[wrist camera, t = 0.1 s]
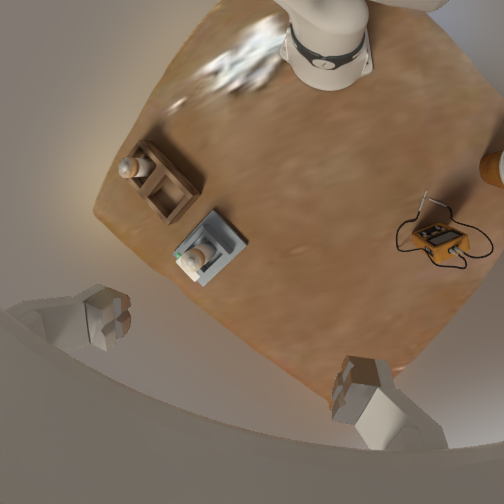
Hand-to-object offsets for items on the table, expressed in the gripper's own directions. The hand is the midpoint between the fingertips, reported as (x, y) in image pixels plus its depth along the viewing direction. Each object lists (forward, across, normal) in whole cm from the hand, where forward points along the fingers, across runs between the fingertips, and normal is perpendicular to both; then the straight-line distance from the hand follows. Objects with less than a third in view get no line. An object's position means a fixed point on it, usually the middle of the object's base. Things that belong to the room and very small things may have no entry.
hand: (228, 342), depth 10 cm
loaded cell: (+47, +34, -2) cm, 58 cm away
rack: (+48, +30, 0) cm, 57 cm away
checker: (+48, +17, +13) cm, 53 cm away
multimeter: (+48, -25, -4) cm, 55 cm away
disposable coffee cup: (+48, -40, -19) cm, 65 cm away
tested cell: (+47, +17, +13) cm, 52 cm away
